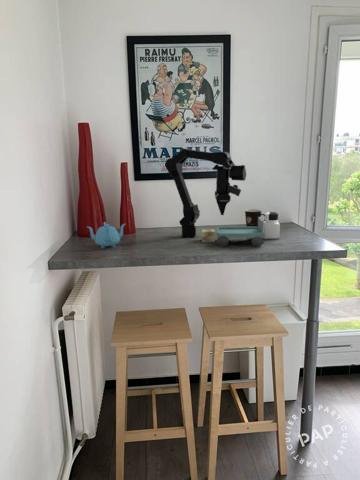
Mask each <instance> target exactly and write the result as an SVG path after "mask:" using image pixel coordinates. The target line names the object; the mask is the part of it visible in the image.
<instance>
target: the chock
mask: <svg viewBox="0 0 360 480" xmlns="http://www.w3.org/2000/svg"><path fill="white" fill-rule="evenodd" d="M215 232H216V230H215V228H214V229H201V242H202V243H215V242H216V233H215Z"/></svg>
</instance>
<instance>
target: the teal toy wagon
mask: <svg viewBox="0 0 360 480" xmlns="http://www.w3.org/2000/svg"><path fill="white" fill-rule="evenodd" d="M263 221H264V220H263V218H262V216H261V217H258V227H246V226H216V237H217V240H216V242H217V245H218V246H219V247H222V248H224V247H227V246H228V245H229V242H230V240H229V239H242V238H243V239H250V240H251V244H252V245H253V247H256V248H257V247H261V246H262V245H263V244H264V233H263Z"/></svg>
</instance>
